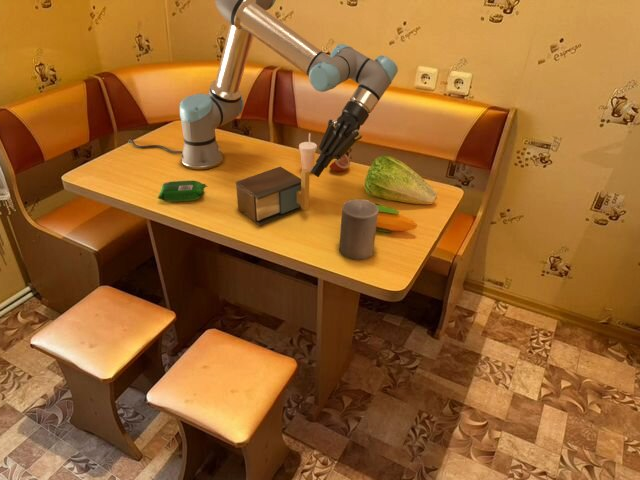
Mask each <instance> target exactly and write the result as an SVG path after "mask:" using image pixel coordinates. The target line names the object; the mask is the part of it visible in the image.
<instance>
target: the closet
mask: <svg viewBox="0 0 640 480" xmlns="http://www.w3.org/2000/svg"><path fill="white" fill-rule="evenodd" d="M299 184H301V177H299V176H297V175H296V174H294V173H292V172H291V171H289V170H287V169H286V168H284V167H283V166H277V167H274V168H272V169H268V170H266V171H263V172H260V173H258V174H254V175H251V176H248V177H245V178H243V179H239V180H237V181H235V186H236V187H235V188H236V199H237V200H236V201H237V210H238V211H239V212H241V213H242V215H244V216H246V217H247V218H248V219H249V220H251V221H252V222H253V223H255V224H256V225H257V226H258V227H263V226H264V225H267V224H270V223H272V222H274V221H277V220H280V219H283V218H284V217H287V216H289V215H292V214H294V213H297V212H299V211H301V210H302V211H303V209H301V207H298V208H296V209H293V210H291V211H288V212H286V213H283V214H281V213H280V191H283V190H286V189H288V188H291V187H294V186H296V185H299Z"/></svg>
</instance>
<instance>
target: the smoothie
mask: <svg viewBox="0 0 640 480" xmlns="http://www.w3.org/2000/svg"><path fill="white" fill-rule="evenodd" d="M298 149H299V154H300V155H299V156H300V162H301V163H300V164H301V170H304V169H306V170H308V171H309V174H310V173H311V170H312V169H313V167H314V166H315V164H314V163H315V158H316V151H317V149H318V144H316V143H315V142H312V141H311V132H309V133H308V141H304V142H303V141H302V142H300V143H299V144H298Z"/></svg>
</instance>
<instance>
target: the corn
mask: <svg viewBox="0 0 640 480" xmlns="http://www.w3.org/2000/svg"><path fill="white" fill-rule="evenodd" d="M374 204H375V205H376V206H377V207H378V217H377V225H376V232H384V233H390V231H391V232H393V231H394V232H403V231H410V230H415V229H417V227H418V224H417V223H416V222H415V221H414V220H413V219H411V218H409V217H406V216H405V215H403V214H400V211H398V210H396V209H395V208H391V207H389V206H388V207H387V206H385V205H381V204H378V203H374Z"/></svg>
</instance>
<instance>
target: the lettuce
mask: <svg viewBox="0 0 640 480" xmlns="http://www.w3.org/2000/svg"><path fill="white" fill-rule="evenodd" d="M363 185H364V186H363V187H364V192H365V193H366V194H367V195H368V196H371V197H375V198H380V199H384V200H387V201H395V202H402V203H406V204H413V205H433V204H434V203H435V201H436V200H437V197H438V192H437V191H436V190H435V189H434V187H433V186H431V185H430V184H429V183H428V182H427V181H426V180H425V179H424V178H423V177H422V176H421V175H420V174H418V173H417V172H416V171H414V169H412V168H411V167H409V166H408V165H407V164H406V163H404V162H403V161H401V160H400V159H397V158H396V157H393V156H391V155H387V154H383V155H380V156H377V157H376V158H375V159H374V160H373V162H372V163H371V165H370V166H369V169H368V171H367V172H366V175H365V179H364V183H363Z"/></svg>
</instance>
